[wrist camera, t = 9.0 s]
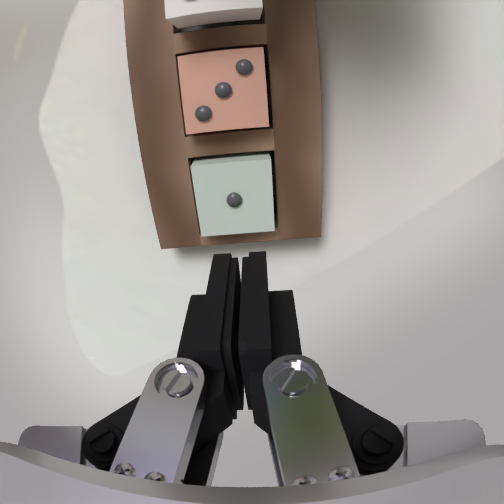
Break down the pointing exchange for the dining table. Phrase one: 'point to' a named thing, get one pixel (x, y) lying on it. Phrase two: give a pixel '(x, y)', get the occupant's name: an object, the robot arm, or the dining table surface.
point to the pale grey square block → (234, 193)
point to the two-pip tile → (210, 11)
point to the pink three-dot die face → (223, 90)
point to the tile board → (235, 140)
